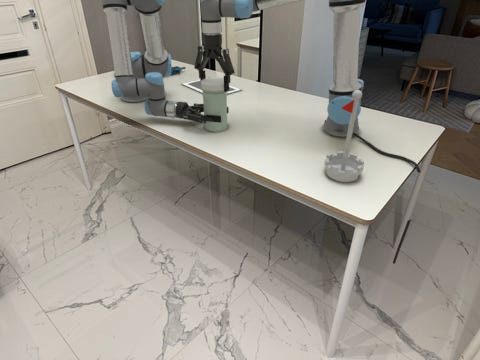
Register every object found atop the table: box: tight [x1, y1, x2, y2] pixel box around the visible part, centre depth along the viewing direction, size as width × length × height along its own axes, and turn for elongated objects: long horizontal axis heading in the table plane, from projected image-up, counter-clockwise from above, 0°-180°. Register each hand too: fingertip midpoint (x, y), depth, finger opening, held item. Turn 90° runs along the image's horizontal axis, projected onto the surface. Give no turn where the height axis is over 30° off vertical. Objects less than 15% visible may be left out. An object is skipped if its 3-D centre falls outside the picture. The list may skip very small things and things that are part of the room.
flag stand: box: [323, 90, 365, 183], centre depth 111 cm, size 13×13×30 cm
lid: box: [201, 76, 224, 91], centre depth 143 cm, size 12×12×2 cm
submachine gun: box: [171, 65, 187, 75], centre depth 224 cm, size 34×4×25 cm
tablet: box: [181, 77, 242, 95], centre depth 200 cm, size 32×20×1 cm, turn 41°
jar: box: [202, 89, 228, 133], centre depth 148 cm, size 10×10×19 cm
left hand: (224, 114), depth 149 cm, fingers closed on jar, 10 cm apart
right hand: (214, 88), depth 144 cm, fingers closed on lid, 11 cm apart
